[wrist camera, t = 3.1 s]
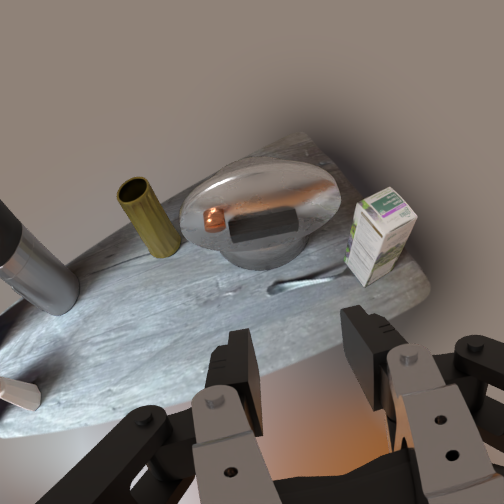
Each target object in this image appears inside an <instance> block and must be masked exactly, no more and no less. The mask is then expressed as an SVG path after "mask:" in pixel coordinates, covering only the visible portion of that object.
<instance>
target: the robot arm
mask: <svg viewBox="0 0 504 504" xmlns="http://www.w3.org/2000/svg"><path fill="white" fill-rule="evenodd" d="M0 278H1V279H2V280H3V281H5V282H6V283H7V284H9V285H10V286H11V287H12V289H13V290H14V291H15V292H16V293H18V294H19V295H21V296H22V297H23V298H25V299H26V300H28V301H29V302H31V303H32V304H33V305H35V306H36V307H38V308H39V309H41V310H42V311H46V312H48V313H49V314H51V315H54V316H59V315H62V314H64V313H66V312H67V311H68V310H69V309H70V308H71V307H72V306H73V305H74V303H75V301H76V299H77V297H78V294H79V281H78V278H77V277H76V275H75V274H74V273H72V272H71V271H70V270H69V269H68V268H67V267H66V266H65V265H64V264H63V263H62V262H61V261H60V260H58V259H57V258H56V257H55V256H54V255H53V254H52V253H51V252H50V251H49V250H48V249H47V248H46V247H45V246H44V245H43V244H42V243H40V241H39V240H38V239H37V238H36V237H35V236H34V235H33V234H32V233H31V232H30V231H29V230H27V228H26V227H25V226H24V225H23V224H22V223H21V222H20V221H19V220H18V219H17V218H16V217H15V216H14V214H13V213H12V212H11V211H10V210H9V209H8V208H7V207H6V205H5V204H4V203H3V202H2V201H1V200H0ZM340 317H341V326H342V336H343V346H344V352H345V355H346V358H347V361H348V363H349V365H350V366H351V368H352V370H353V372H354V374H355V376H356V378H357V380H358V382H359V384H360V385H361V388H362V389H363V392H364V394H365V395H366V398H367V399H368V401H369V403H370V405H371V407H372V409H373V411H377V410H380V409H383V408H384V410H385V412H386V413H385V425H386V432H387V438H388V444H389V452H390V453H389V454H385V455H382V456H380V457H378V458H376V459H374V460H373V461H371V462H369V463H367V464H365V465H363V466H361V467H359V468H357V469H355V470H353V471H351V472H349V473H347V474H345V475H340V476H320V477H319V476H316V477H293V478H288V479H281V480H275V481H272V479H271V476H270V474H269V471H268V469H267V466H266V464H265V461H264V459H263V456H262V454H261V451H260V449H259V446H258V444H257V441H256V438H255V437H259V436H263V425H262V408H261V391H260V376H259V369H258V364H257V360H256V356H255V351H254V347H253V343H252V339H251V334H250V331H249V328H247V329H241V330H236V331H230V332H229V340H228V345H222V346H218V347H217V348H216V349H215V350H214V351H213V352H212V354H211V358H210V363H209V370H208V373H207V378H206V383H205V388H204V389H203V390H201V391H200V392H198V393H197V394H196V395H195V396H194V397H193V399H192V402H191V405H192V407H191V408H189V409H187V410H184V411H181V412H178V413H175V414H171V415H168V416H167V414H166V412H165V410H164V409H163V408H162V407H160V406H156V405H146V406H142V407H139V408H136V409H134V410H132V411H131V412H130V413H128V414H127V415H126V416H125V417H124V418H123V419H122V420H121V421H120V422H119V423H118V424H117V425H116V426H115V427H114V428H113V429H112V430H111V431H110V432H109V433H108V434H107V435H106V436H105V437H104V438H103V439H102V440H101V441H100V442H99V443H98V444H97V445H96V446H95V447H94V448H93V449H92V450H91V451H90V452H89V453H88V454H87V455H86V456H85V457H84V458H83V459H82V460H81V461H79V462H78V463H77V464H76V466H74V467H73V468H72V469H71V470H70V471H69V472H68V473H67V474H66V475H65V476H64V477H63V478H62V479H61V480H60V481H59V482H58V483H57V484H56V485H55V486H53V487H52V488H51V489H50V490H49V491H48V492H47V493H46V494H45V495H44V496H43V497H42V498H41V499H40V500H39V501H37V502H36V503H35V504H178V502H179V501H180V499H181V498H182V496H183V495H184V493H185V492H186V491H187V489H188V488H189V486H190V485H191V483H192V482H193V480H194V478H195V475H196V477H197V484H198V490H199V496H200V502H201V504H504V466H500V465H496V464H493V463H491V461H490V458H489V456H488V453H487V451H486V448H485V446H484V443H483V442H485V443H487V444H488V445H490V446H492V447H494V448H496V449H497V450H499V451H501V452H503V453H504V404H502V403H500V402H498V401H496V400H494V399H492V398H490V397H488V396H486V391H487V387H488V384H490V385H492V386H495V387H497V388H499V389H501V390H503V391H504V343H502V342H499V341H496V340H494V339H491V338H488V337H485V336H481V335H470V336H466V337H463V338H461V339H459V340H458V341H457V343H456V345H455V350H454V353H448V354H441V355H431V353H430V351H429V349H428V348H426V347H424V346H422V345H419V344H409V343H408V342H407V341H406V340H405V339H404V338H403V337H402V336H401V335H400V334H399V332H398V331H396V330H395V328H394V327H393V326H392V325H390V323H389V322H388V321H387V320H386V318H385V317H382V316H380V315H377V314H375V313H374V314H370V315H368V314H367V313H366V312H365V310H364V309H363V308H362V307H361V306H360V305H356V306H352V307H348V308H343V309H341V310H340ZM145 465H147V467H148V468H149V469H148V470H147V471H146V472H145V473H144V475H143V476H142V477H141V478H140V479H139V481H138V482H137V483H136V484H135V486H134V487H133V488H132V489H131V490H130V486H131V483H132V481H133V479H134V478H135V477H136V476H137V474H138V473H139V472H140V471H141V470H142V469H143V467H144V466H145Z"/></svg>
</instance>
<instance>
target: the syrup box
mask: <svg viewBox="0 0 504 504" xmlns="http://www.w3.org/2000/svg"><path fill="white" fill-rule="evenodd" d="M417 218H418V216H417V215H416V214H415V212H414V211H413V210H412V209H411V208H410V206H409V205H408V204H407V203H406V202H405V201H404V199H403V198H402V197H401V196H400V195H399V194H398V193H397V192H396V191H394V190H393V189H392V188H391V187H388V188H386V189H384V190H382V191H380V192H378V193H376V194H374V195H372V196H370V197H368V198H366V199H364V200H362V201H360V202H357V204H356V209H355V213H354V218H353V223H352V227H351V232H350V236H349V240H348V245H347V249H346V253H345V257H344V261H345V263H346V264H347V265H348V267H349V268H350V269H351V271H352V272H353V273H354V275H355V276H356V277H357V279H358V280H359V281H360V282H361V284H362V285H363V286H364V287H367V286H368V285H370V284H371V283H373V282H375V281H376V280H378V279H379V278H381V277H383V276H384V275H386V274H387V273H389V272H390V271H392V269H393V267H394V265H395V263H396V261H397V259H398V257H399V255H400V253H401V251H402V249H403V247H404V245H405V243H406V241H407V239H408V237H409V235H410V233H411V231H412V228H413V226H414V224H415V222H416V220H417Z"/></svg>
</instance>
